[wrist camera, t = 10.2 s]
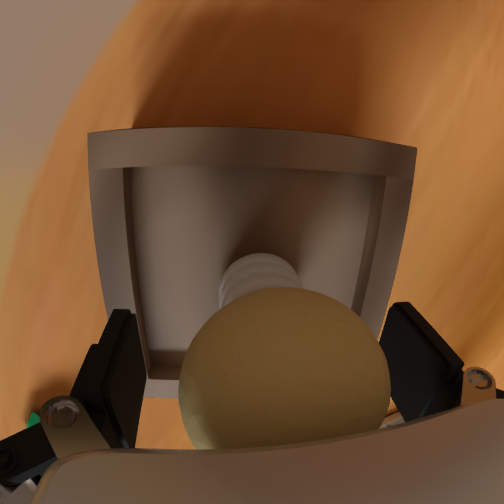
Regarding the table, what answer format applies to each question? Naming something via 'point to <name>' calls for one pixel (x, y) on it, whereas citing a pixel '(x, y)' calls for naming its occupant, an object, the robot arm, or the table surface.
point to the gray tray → (240, 223)
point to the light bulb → (280, 364)
